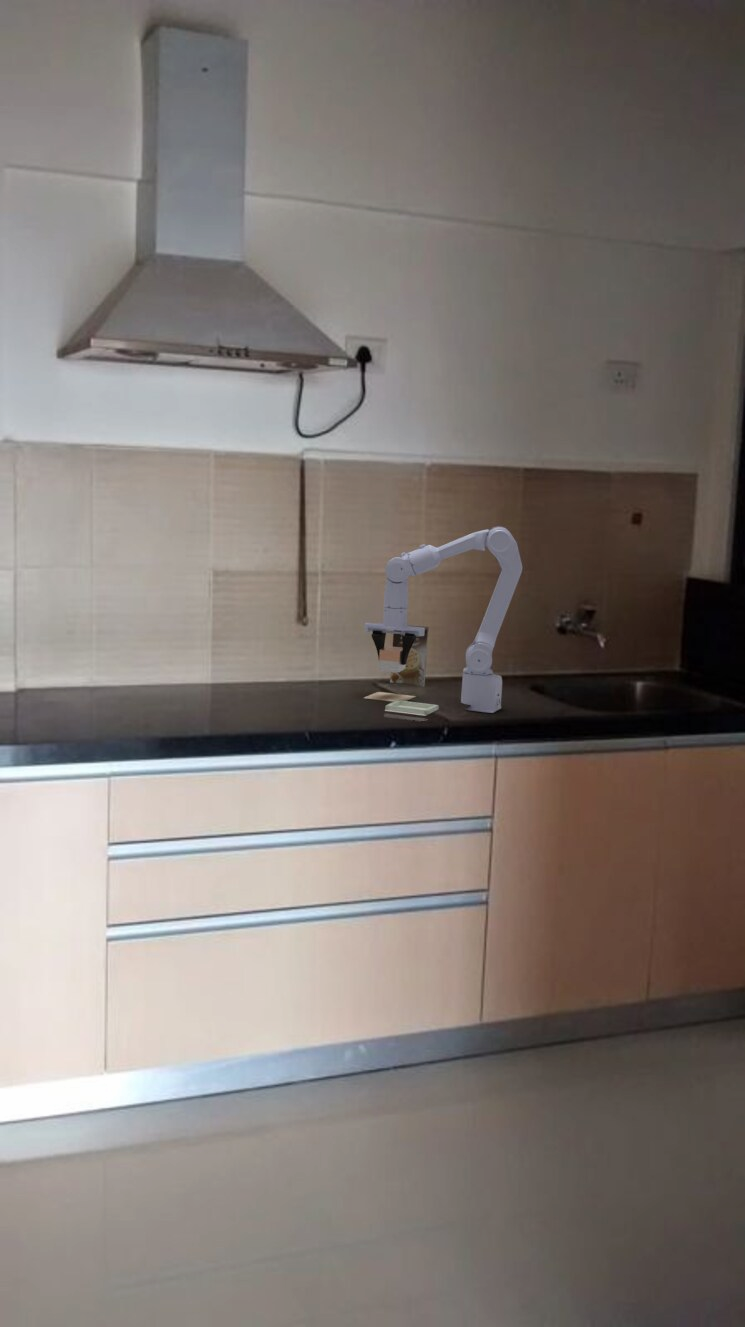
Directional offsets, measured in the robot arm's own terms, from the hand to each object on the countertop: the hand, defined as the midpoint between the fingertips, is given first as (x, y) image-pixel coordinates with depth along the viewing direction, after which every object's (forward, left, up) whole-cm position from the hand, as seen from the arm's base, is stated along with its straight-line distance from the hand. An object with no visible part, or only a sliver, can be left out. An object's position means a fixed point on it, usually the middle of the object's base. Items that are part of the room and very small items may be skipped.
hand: (392, 663), depth 320 cm
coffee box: (+4, -24, -10) cm, 27 cm away
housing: (0, 0, -2) cm, 2 cm away
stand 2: (-10, +12, -10) cm, 18 cm away
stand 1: (0, 0, -10) cm, 10 cm away
